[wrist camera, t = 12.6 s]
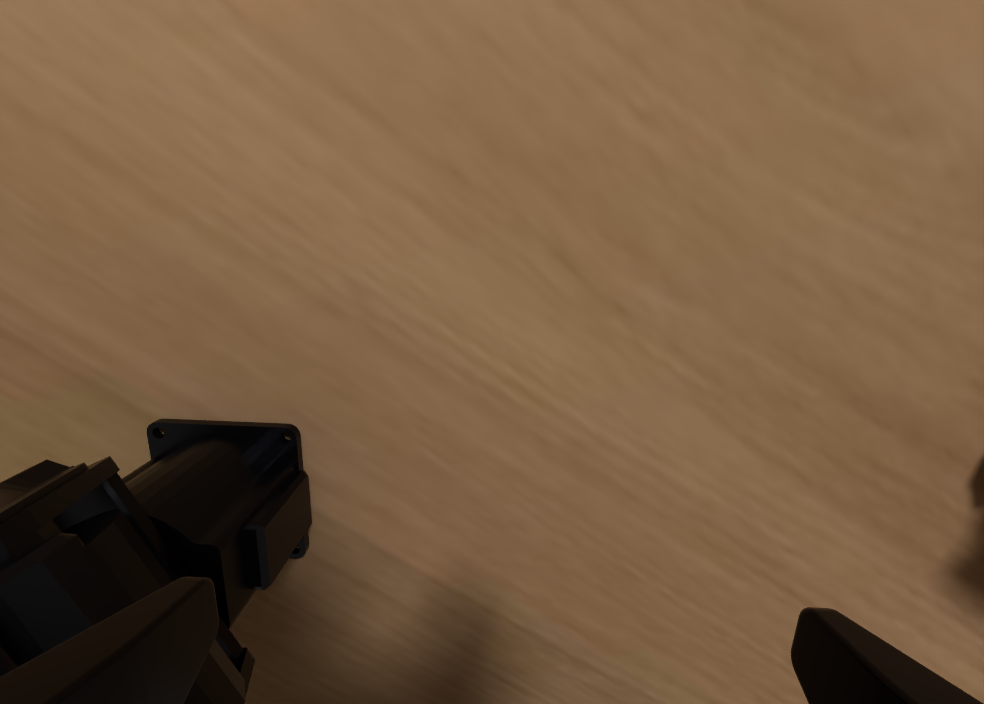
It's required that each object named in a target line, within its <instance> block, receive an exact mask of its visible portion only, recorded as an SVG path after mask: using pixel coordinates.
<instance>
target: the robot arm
mask: <svg viewBox="0 0 984 704" xmlns="http://www.w3.org/2000/svg"><path fill="white" fill-rule="evenodd" d="M159 428H160V429H162V430H163V432H164V434H162V433H161V432H160V431H159ZM283 433H287V434H288V435H290V437H291V440H288V439H286V438H285V437H284V435H283ZM147 437H148V443H149V449H150V455H151V460H150V461H149V462H147V463H146V464H144V465H143V466H141V467H139V468H138V469H136V470H135V471H133V472H132V473H130V474H129V475H127V476H126V477H124V478H123V479H121V478H120V476H119V475H118V473H117V472H118V471H119V470H120V469H119V468H118V467H117V465H116V464H115V462H114V461H113V460H112V458H111V457H110V456H109V457H107V458H104V459H102V460H100V461H98V462H96V463H94V464H91V465H89V466H87V465H86V464H85V463H82V464H79V465H77V466H75V467H74V466H71V467H68V466H65V465H62V464H59V463H55V462H52V461H49V460H45V461H43V462H41V463H39V464H37V465H35V466H32V467H30V468H28V469H26V470H24V471H22V472H20V473H18V474H16V475H14V476H12V477H10V478H8V479H6V480H4V481H2V482H0V704H244V702H245V696H246V693H247V689H248V685H249V681H250V677H251V674H252V670H253V666H254V662H255V659H254V657H253V656H252V655H251V653H250V652H249V650H248V649H247V648H246V647H245V648H242V647H241V645H240V644H239V643H238V641H237V640H236V638H235V637H234V636H233V634H232V633H231V631H230V630H229V628H230V627H231V625H232V624H233V623H234V621H235V620H236V618H237V617H238V615H239V614H240V612H241V611H242V610H243V608H244V607H245V605H246V604H247V602H248V601H249V599H250V598H251V597H252V595H253V594H254V592H255V591H256V590H265V589H266V588H268V587H269V586H270V585H271V584H272V582H273V581H274V579H275V578H276V576H277V575H278V573H279V572H280V570H281V569H282V567H283V566H284V564H285V563H286V561H287V560H288V558H293V559H296V558H301V557H302V556H303V555H304V554H305V552H306V551H307V549H308V547H309V538H308V528H309V526H310V525H311V522H312V520H311V507H310V494H309V481H308V475H307V474H306V472H305V471H304V470H303V461H302V448H301V435H300V432H299V430H298V429H297V427H295V426H294V425H291V424H280V423H255V422H231V421H206V420H181V419H159V420H157V421H155V422H153V423H152V424H150V425H149V426H148V428H147ZM296 546H299V548H296ZM791 660H792V664H793V668H794V671H795V673H796V675H797V678H798V680H799V682H800V685H801V687H802V689H803V691H804V694H805V696H806V698H807V701H808V703H809V704H983V703H982V702H980V701H978V700H977V699H975V698H974V697H972V696H970V695H969V694H967V693H966V692H964V691H963V690H961V689H959V688H958V687H956V686H955V685H953V684H952V683H950V682H948V681H947V680H945V679H944V678H942V677H940V676H939V675H937V674H936V673H934V672H933V671H931V670H929V669H928V668H926V667H925V666H923V665H921V664H920V663H918V662H917V661H915V660H914V659H912V658H910V657H909V656H907V655H906V654H904V653H902V652H901V651H899V650H898V649H896V648H895V647H893V646H891V645H890V644H888V643H887V642H885V641H884V640H882V639H880V638H879V637H877V636H876V635H874V634H872V633H871V632H869V631H868V630H866V629H865V628H863V627H861V626H860V625H858V624H857V623H855V622H853V621H852V620H850V619H849V618H847V617H846V616H844V615H842V614H841V613H839V612H838V611H836V610H833V609H829V608H812V607H808V608H804V609H803V610H802V611H801V612H800V615H799V618H798V623H797V627H796V631H795V635H794V639H793V644H792V648H791Z"/></svg>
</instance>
